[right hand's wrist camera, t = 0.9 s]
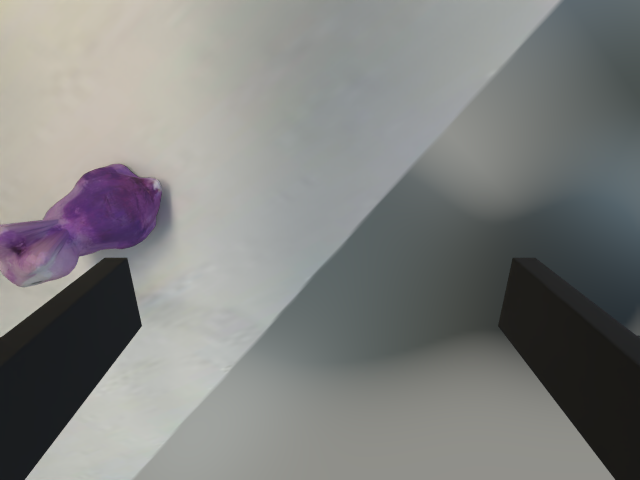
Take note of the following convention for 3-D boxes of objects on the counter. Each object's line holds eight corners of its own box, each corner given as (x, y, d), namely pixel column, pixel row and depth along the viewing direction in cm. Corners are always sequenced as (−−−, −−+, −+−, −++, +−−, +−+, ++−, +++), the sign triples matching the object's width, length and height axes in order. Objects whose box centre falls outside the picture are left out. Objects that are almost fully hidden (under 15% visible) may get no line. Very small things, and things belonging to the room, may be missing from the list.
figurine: (74, 239, 41) (-50, 313, 27) (78, 150, 38) (-64, 183, 24) (159, 260, 42) (80, 342, 28) (170, 175, 39) (86, 221, 25)
